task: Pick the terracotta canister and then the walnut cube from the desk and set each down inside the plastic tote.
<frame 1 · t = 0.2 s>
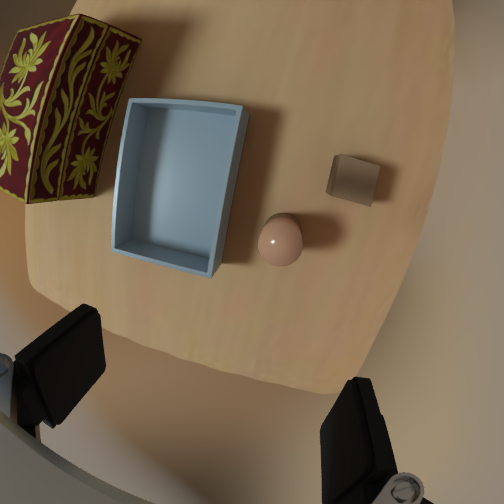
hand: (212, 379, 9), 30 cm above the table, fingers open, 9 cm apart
canister: (282, 231, 38), on the table
tote: (182, 181, 37), on the table
decorative box: (77, 110, 36), on the table
walnut block: (347, 178, 34), on the table
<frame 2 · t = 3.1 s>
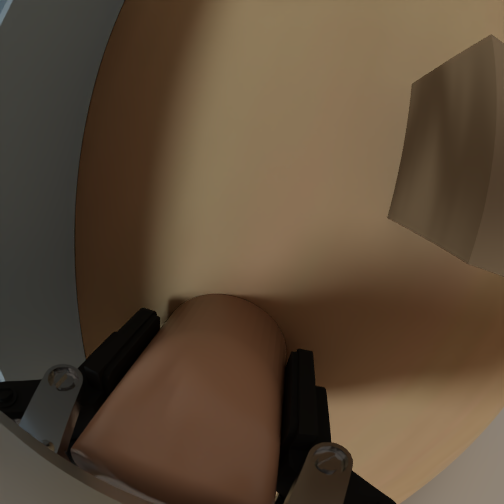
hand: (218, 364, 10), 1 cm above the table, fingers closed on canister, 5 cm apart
canister: (223, 349, 11), on the table, touching gripper
walnut block: (457, 171, 8), on the table
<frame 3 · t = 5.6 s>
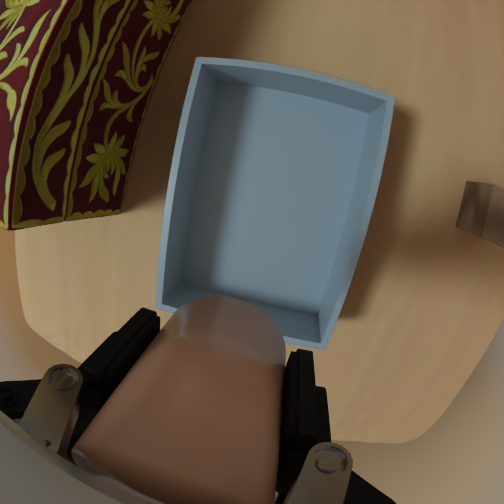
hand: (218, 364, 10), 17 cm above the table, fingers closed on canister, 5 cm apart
canister: (223, 350, 11), point 16 cm above the table, touching gripper
tote: (271, 199, 25), on the table
decorative box: (93, 84, 24), on the table
walnut block: (476, 210, 22), on the table
when the fingers open (3 cm above the table, at t = 8.6 s): canister drops 2 cm, resting on tote.
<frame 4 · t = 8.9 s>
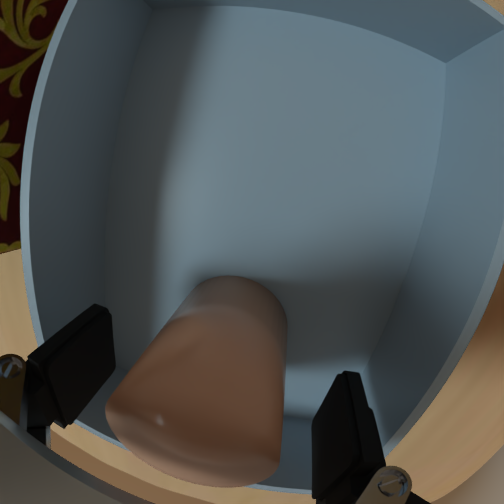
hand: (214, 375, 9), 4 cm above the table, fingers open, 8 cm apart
canister: (233, 325, 13), point 1 cm above the table, touching tote
tote: (253, 228, 12), on the table
decorative box: (5, 61, 11), on the table
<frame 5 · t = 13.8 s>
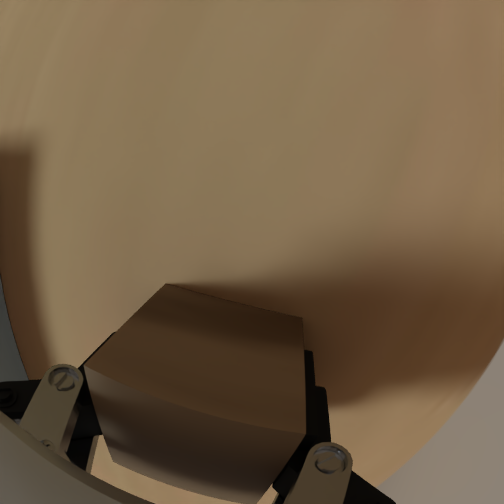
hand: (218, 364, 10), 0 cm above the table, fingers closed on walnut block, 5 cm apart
walnut block: (221, 355, 10), on the table, touching gripper
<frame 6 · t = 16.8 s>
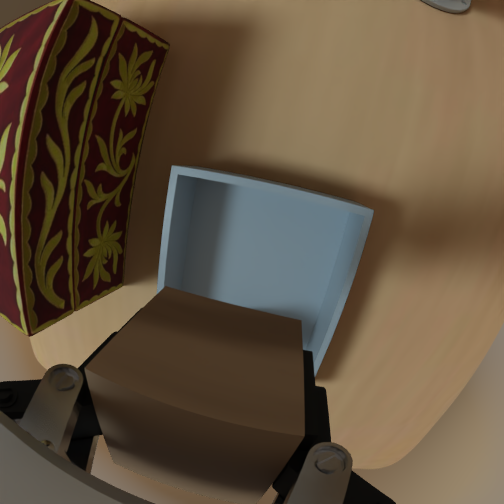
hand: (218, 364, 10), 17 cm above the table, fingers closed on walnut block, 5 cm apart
tote: (252, 288, 28), on the table
decorative box: (78, 156, 27), on the table
walnut block: (221, 357, 10), point 17 cm above the table, touching gripper
when the fingers open (3 cm above the table, at t = 19.8 s): walnut block drops 2 cm, resting on tote.
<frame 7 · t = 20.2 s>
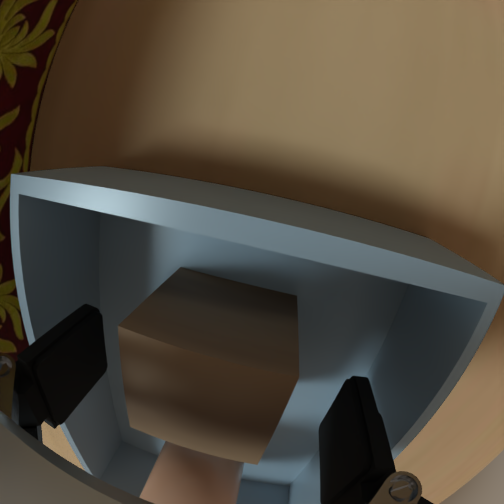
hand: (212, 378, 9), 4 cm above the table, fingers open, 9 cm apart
canister: (209, 437, 15), point 1 cm above the table, touching tote
tote: (219, 389, 14), on the table
walnut block: (227, 331, 12), point 1 cm above the table, touching tote
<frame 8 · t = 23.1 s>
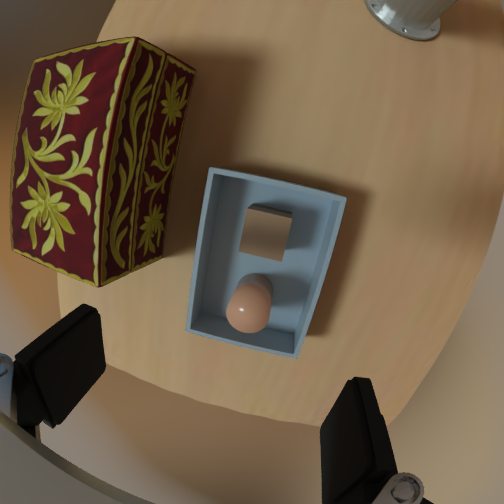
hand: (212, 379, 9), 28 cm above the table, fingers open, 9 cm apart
canister: (254, 290, 38), point 1 cm above the table, touching tote
tote: (262, 258, 37), on the table
decorative box: (122, 156, 36), on the table
walnut block: (268, 226, 35), point 1 cm above the table, touching tote
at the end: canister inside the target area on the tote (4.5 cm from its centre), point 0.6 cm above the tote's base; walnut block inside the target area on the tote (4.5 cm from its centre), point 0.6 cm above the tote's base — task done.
